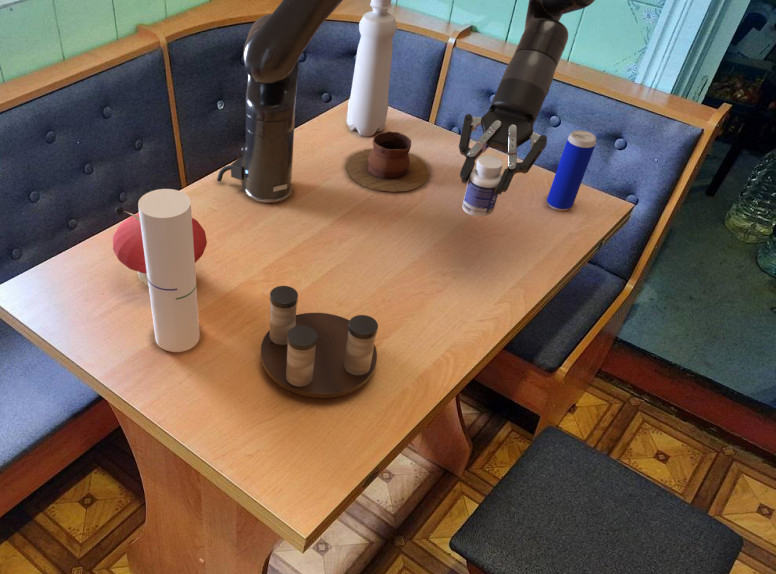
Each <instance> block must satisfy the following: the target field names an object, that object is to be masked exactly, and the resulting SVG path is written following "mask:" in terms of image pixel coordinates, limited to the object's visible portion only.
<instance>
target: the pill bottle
mask: <svg viewBox="0 0 776 574" xmlns="http://www.w3.org/2000/svg"><path fill="white" fill-rule="evenodd" d="M503 164H504V163H503V161H502V160H501V158H498V157H496V156H495V155H494V156H493V155H480V156H479V157H478V158H477V160H476V163H475V168H473V170H472V172H471V173H470V176H469V180H468V182H467V184H466V189H465V194H464V197H463V200H462V204H461V207H462V209H463V211H464V212H465V213H466V214H468V215H469V216H471V217H475V218H486V217H489V216H491V215H492V214H493V212H494V210H495V207H496V203H497V199H498V197H499V194H496V189H497V187H498V184H499V182H500V180H501V177H502V174H501V171H502V168H503Z"/></svg>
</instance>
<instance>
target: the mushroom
mask: <svg viewBox="0 0 776 574" xmlns="http://www.w3.org/2000/svg"><path fill="white" fill-rule="evenodd" d="M114 212H115V214H116V215H117V216H122V215H124V213H126V214H128V215H130V216H129V217H127V218H126V219H125V220H124V221H123V222H122V223H120V224H119V226H118V227H117V229H116V230H115V232H114V234H113V236H112V250H113V253H114V254H115V256H116V258H117V259H118V261H119V262H120V263H121V264H122V265H124V266H126V267H127V268H128V269H130V270H132V271H135V272H136V273H137V277H138V278H139V280H140V282H141V283H142V284H144V285H145V286H146V287H148V288H149V286H148V278H147V270H146V262H145V254H144V247H143V239H142V231H141V224H140V216H139V212H137V213H136V214H134V213H131V212H128V211H125V209H124V207H122V206H117V207H115V209H114ZM192 229H193V244H194V259H195V264H196V263H197V262H198V261H199V259H200V258H201V257H202V256H203V255H204V254H205V253H204V252H205V250H206V247H207V243H208V240H207V235H206V231H205V229H204V228H203V226H202V225H201V223H199V221H198V219H195V218H194V217H192Z"/></svg>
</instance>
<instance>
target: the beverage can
mask: <svg viewBox="0 0 776 574" xmlns="http://www.w3.org/2000/svg"><path fill="white" fill-rule="evenodd" d="M596 144H597V136H596V135H595V134H594V133H592V132H590V131H587V130H582V129H576V130H574V131H571V133H570V134H569V135H568V137H567V139H566V142H565V145H564V148H563V151H562V153H561V157H560V160H559V162H558V165H557V168H556V171H555V174H554V176H553V179H552V183H551V186H550V189H549V191H548V195H547V197H546V202H547V204H548V206H549V207H550V208H551V209H553V210H555V211H559V212H564V211H568V210H570V209H571V208H572V207H573V206H574V203H575V201H576V198H577V195H578V193H579V190H580V187H581V186H582V185H581V184H582V182H583V179H584V176H585V174H586V171H587V168H588V166H589V163H590V160H591V158H592V155H593V152H594V150H595V147H596Z"/></svg>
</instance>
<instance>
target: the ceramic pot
mask: <svg viewBox="0 0 776 574" xmlns="http://www.w3.org/2000/svg"><path fill="white" fill-rule="evenodd" d="M372 146H373V148H370V149H363V151H359V152H356V153H354V154H353V155H350V156H349V158H348V160H347V161H346V162H347V163H346V164H345V167H346V168H345V170H346V173H348V175H349V177H350V178H351V179H352V180H353V181H354V182H356V184H359V185H360V186H361V187H364V188H368V189H369V190H372V189H373V190H374V191H379V192H392V193H396V192H408V191H413V190H414V189H417V188H419V187H420V186H423V185H424V184H426V182H428V179H429V177H430V176H431V175H430V173H429V168H428V166H427V164H426V163H425V162H424V161H423V160H422V159H420V158H419V157H418V156H416V155H414V154H411V153H410V150H411V147H412V140H411V139H410V137H409V136H408V135H406V134H404V133H401V132H399V131H390V130H388V131H385V132H380V133H378V134H376V135H375V136H374V137H373V140H372Z"/></svg>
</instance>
